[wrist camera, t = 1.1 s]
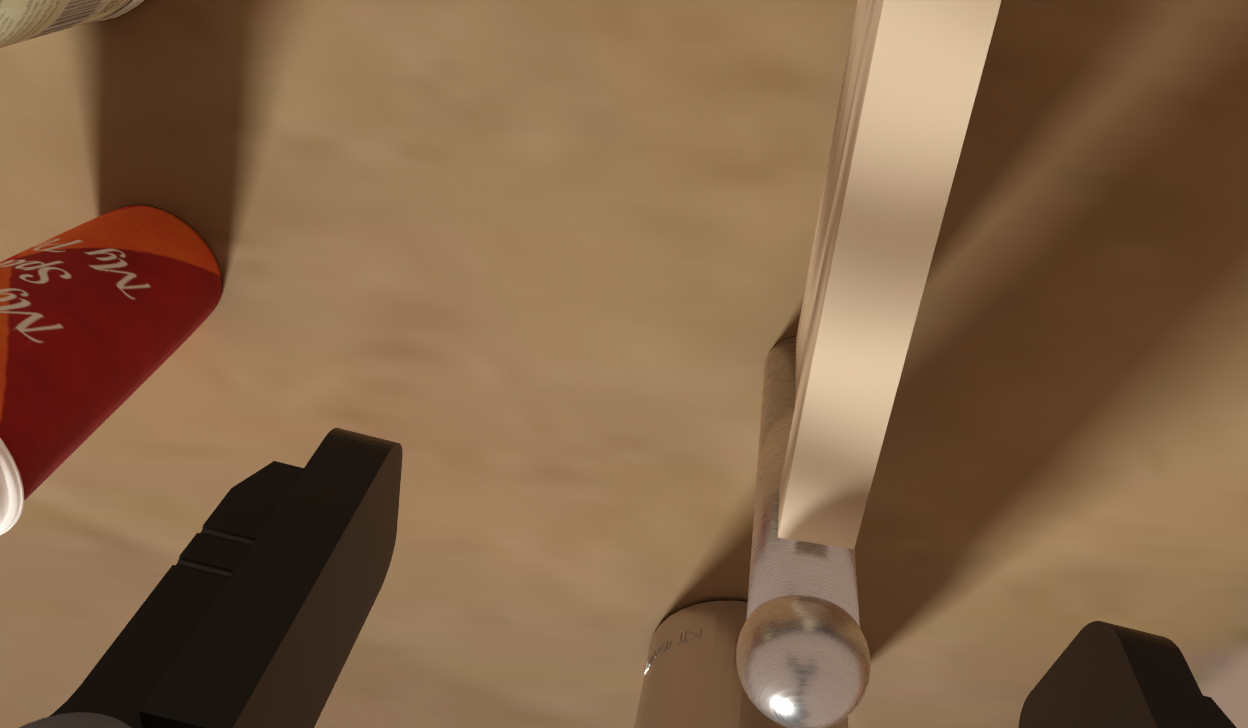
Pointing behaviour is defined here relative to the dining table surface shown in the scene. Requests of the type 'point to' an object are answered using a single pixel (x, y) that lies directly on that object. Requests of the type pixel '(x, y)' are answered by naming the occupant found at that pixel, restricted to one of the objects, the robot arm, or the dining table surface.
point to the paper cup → (90, 333)
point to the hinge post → (796, 592)
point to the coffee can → (54, 16)
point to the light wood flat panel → (875, 247)
